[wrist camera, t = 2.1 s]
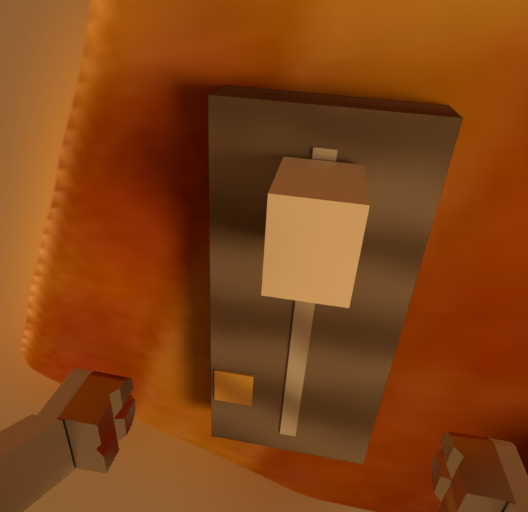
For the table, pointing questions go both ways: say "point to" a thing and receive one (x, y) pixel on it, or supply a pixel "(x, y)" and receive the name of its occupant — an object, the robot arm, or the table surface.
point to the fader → (314, 231)
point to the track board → (305, 313)
